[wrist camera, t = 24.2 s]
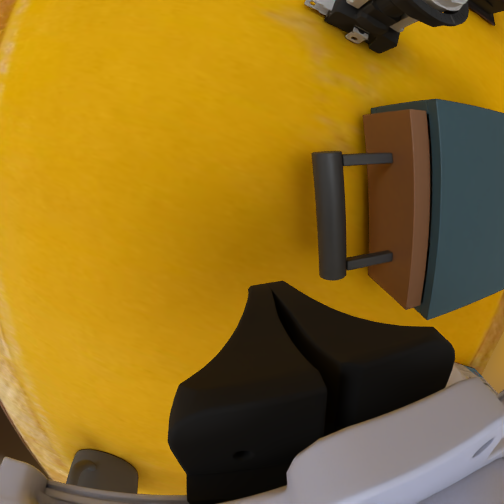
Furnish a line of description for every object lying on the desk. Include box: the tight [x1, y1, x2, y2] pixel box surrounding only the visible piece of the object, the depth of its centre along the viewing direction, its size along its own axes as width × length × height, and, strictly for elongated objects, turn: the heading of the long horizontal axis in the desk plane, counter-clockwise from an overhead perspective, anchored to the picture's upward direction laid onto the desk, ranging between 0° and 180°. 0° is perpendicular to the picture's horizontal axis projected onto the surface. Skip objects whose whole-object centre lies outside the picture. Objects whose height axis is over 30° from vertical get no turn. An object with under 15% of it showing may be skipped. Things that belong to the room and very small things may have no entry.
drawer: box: [312, 109, 432, 310], centre depth 17 cm, size 18×11×5 cm, turn 97°
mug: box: [66, 450, 138, 494], centre depth 21 cm, size 14×9×12 cm
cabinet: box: [371, 99, 504, 320], centre depth 17 cm, size 15×13×7 cm
